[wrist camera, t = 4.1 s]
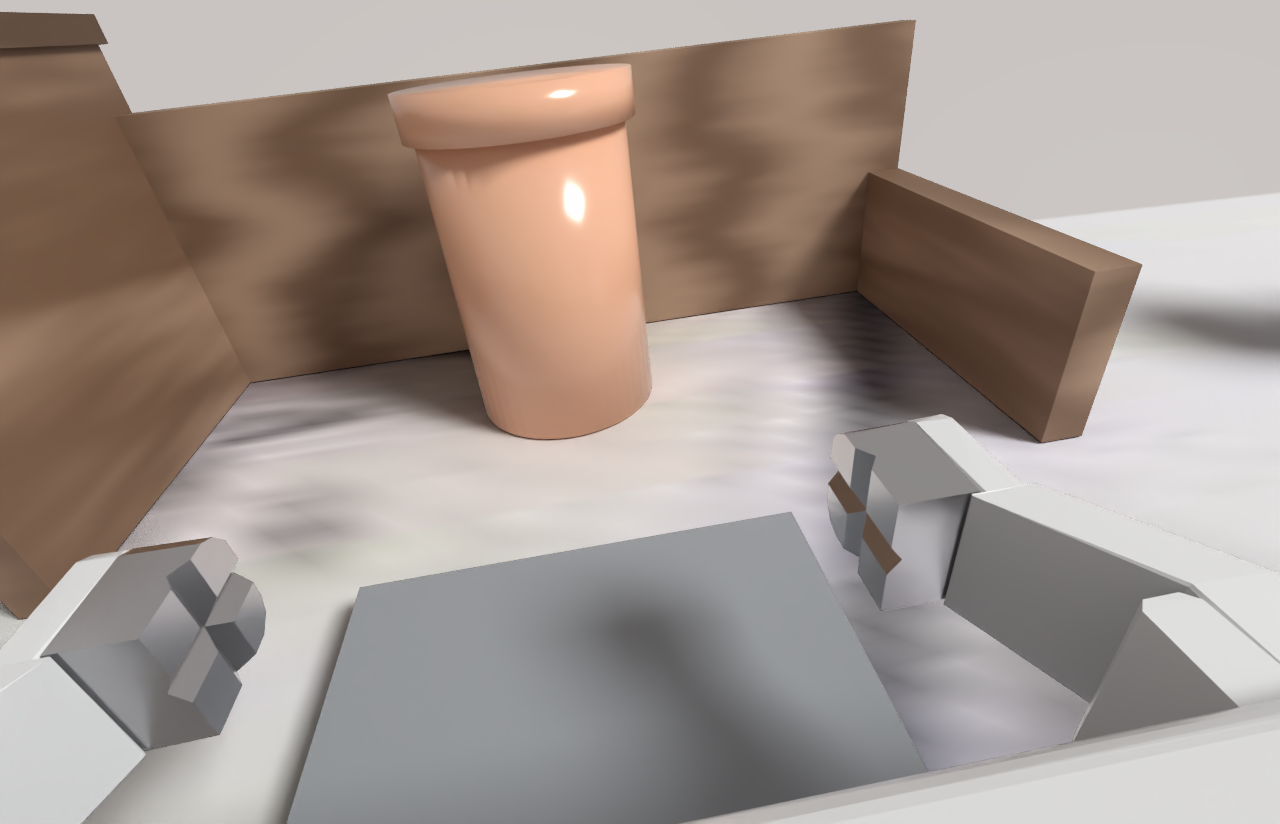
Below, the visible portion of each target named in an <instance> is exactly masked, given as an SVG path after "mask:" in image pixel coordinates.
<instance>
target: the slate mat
mask: <svg viewBox="0 0 1280 824" xmlns="http://www.w3.org/2000/svg"><path fill="white" fill-rule="evenodd" d="M926 772H928V770H927V768H926V766H925V764H924V762H923V760H922V759H921V757H920V755H919V753H918V751H917V749H916V747H915V745H914V743H913V741H912V740H911V738H910V736H909V734H908V732H907V730H906V728H905V726H904V724H903V723H902V721H901V719H900V717H899V715H898V713H897V711H896V709H895V707H894V705H893V704H892V702H891V700H890V698H889V696H888V694H887V692H886V690H885V688H884V687H883V685H882V683H881V681H880V679H879V677H878V675H877V673H876V671H875V669H874V668H873V666H872V664H871V662H870V660H869V658H868V656H867V654H866V652H865V650H864V649H863V647H862V645H861V643H860V641H859V639H858V637H857V635H856V633H855V632H854V630H853V628H852V626H851V624H850V622H849V620H848V618H847V616H846V614H845V613H844V611H843V609H842V607H841V605H840V603H839V601H838V599H837V597H836V596H835V594H834V592H833V590H832V588H831V586H830V584H829V582H828V580H827V578H826V577H825V575H824V573H823V571H822V569H821V567H820V565H819V563H818V561H817V560H816V558H815V556H814V554H813V552H812V550H811V548H810V546H809V544H808V542H807V541H806V539H805V537H804V535H803V533H802V531H801V529H800V527H799V525H798V523H797V522H796V520H795V518H794V516H793V514H792V512H787V513H781V514H776V515H770V516H764V517H759V518H753V519H747V520H741V521H736V522H730V523H724V524H719V525H713V526H707V527H702V528H696V529H690V530H684V531H679V532H673V533H667V534H662V535H656V536H650V537H645V538H639V539H633V540H628V541H622V542H616V543H610V544H605V545H599V546H593V547H588V548H582V549H576V550H571V551H565V552H559V553H553V554H548V555H542V556H536V557H531V558H525V559H519V560H514V561H508V562H502V563H497V564H491V565H485V566H479V567H474V568H468V569H462V570H457V571H451V572H445V573H440V574H434V575H428V576H422V577H417V578H411V579H405V580H400V581H394V582H388V583H383V584H377V585H371V586H366V587H360V588H359V592H358V595H357V598H356V601H355V604H354V608H353V611H352V614H351V617H350V621H349V624H348V627H347V630H346V633H345V637H344V640H343V643H342V646H341V649H340V653H339V656H338V659H337V662H336V666H335V669H334V672H333V675H332V678H331V682H330V685H329V688H328V691H327V694H326V698H325V701H324V704H323V707H322V711H321V714H320V717H319V720H318V723H317V727H316V730H315V733H314V736H313V739H312V743H311V746H310V749H309V752H308V756H307V759H306V762H305V765H304V768H303V772H302V775H301V778H300V781H299V784H298V788H297V791H296V794H295V797H294V801H293V804H292V807H291V810H290V813H289V817H288V820H287V823H286V824H680V823H684V822H689V821H694V820H699V819H704V818H709V817H713V816H718V815H723V814H728V813H733V812H738V811H742V810H747V809H752V808H757V807H762V806H767V805H771V804H776V803H781V802H786V801H791V800H796V799H800V798H805V797H810V796H815V795H820V794H825V793H829V792H834V791H839V790H844V789H849V788H854V787H858V786H863V785H868V784H873V783H878V782H883V781H887V780H892V779H897V778H902V777H907V776H912V775H916V774H921V773H926Z"/></svg>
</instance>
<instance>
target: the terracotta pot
mask: <svg viewBox="0 0 1280 824" xmlns="http://www.w3.org/2000/svg"><path fill="white" fill-rule="evenodd" d="M388 98H389V101H390V105H391V108H392V112H393V115H394V119H395V123H396V126H397V130H398V133H399V137H400V140H401V144H402V145H403V146H404V147H408V148H413V149H415V152H416V156H417V159H418V163H419V167H420V170H421V174H422V178H423V181H424V185H425V189H426V192H427V196H428V200H429V203H430V207H431V211H432V214H433V218H434V222H435V225H436V229H437V233H438V236H439V240H440V243H441V247H442V251H443V254H444V258H445V262H446V265H447V269H448V273H449V276H450V280H451V284H452V287H453V291H454V295H455V298H456V302H457V306H458V309H459V313H460V317H461V320H462V324H463V328H464V331H465V335H466V339H467V342H468V346H469V350H470V353H471V357H472V361H473V364H474V368H475V372H476V375H477V379H478V383H479V386H480V390H481V393H482V397H483V401H484V404H485V408H486V412H487V415H488V417H489V419H490V420H491V421H492V422H493V423H494V424H495V425H496V426H497V427H499V428H500V429H502V430H504V431H506V432H508V433H511V434H514V435H517V436H522V437H527V438H535V439H561V438H569V437H576V436H581V435H586V434H590V433H593V432H597V431H600V430H603V429H605V428H608V427H610V426H613V425H615V424H617V423H619V422H621V421H623V420H624V419H626V418H628V417H629V416H631V415H632V414H633V413H635V412H636V411H637V410H638V409H639V408H640V407H642V405H643V404H644V403H645V402H646V401H647V399H648V397H649V395H650V393H651V389H652V378H651V368H650V358H649V348H648V338H647V329H646V319H645V309H644V299H643V289H642V279H641V269H640V259H639V249H638V239H637V229H636V219H635V209H634V199H633V189H632V179H631V170H630V160H629V150H628V140H627V130H626V120H628V119H630V118H632V117H633V116H634V115H635V103H634V92H633V81H632V70H631V65H630V64H595V65H582V66H570V67H559V68H549V69H540V70H531V71H522V72H513V73H505V74H497V75H490V76H482V77H475V78H468V79H461V80H454V81H448V82H442V83H435V84H430V85H424V86H418V87H413V88H408V89H404V90H399V91H395V92H392V93H389V94H388Z"/></svg>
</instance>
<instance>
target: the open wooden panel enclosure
mask: <svg viewBox="0 0 1280 824" xmlns="http://www.w3.org/2000/svg"><path fill="white" fill-rule="evenodd" d="M915 22H916V21H915V20H901V21H893V22H884V23H876V24H867V25H859V26H851V27H842V28H835V29H826V30H818V31H809V32H802V33H792V34H784V35H776V36H767V37H760V38H752V39H742V40H735V41H726V42H718V43H709V44H701V45H693V46H684V47H677V48H668V49H660V50H651V51H643V52H635V53H626V54H618V55H611V56H602V57H594V58H586V59H577V60H569V61H561V62H552V63H544V64H536V65H527V66H519V67H511V68H503V69H494V70H486V71H477V72H470V73H462V74H453V75H444V76H436V77H428V78H419V79H411V80H403V81H395V82H386V83H378V84H370V85H361V86H353V87H345V88H336V89H328V90H320V91H312V92H303V93H295V94H287V95H278V96H270V97H262V98H253V99H245V100H237V101H230V102H220V103H212V104H205V105H196V106H187V107H179V108H171V109H162V110H154V111H146V112H138V113H132V112H131V110H130V108H129V106H128V104H127V102H126V100H125V98H124V96H123V94H122V92H121V90H120V88H119V86H118V84H117V82H116V80H115V78H114V76H113V74H112V72H111V70H110V68H109V66H108V64H107V62H106V60H105V58H104V56H103V53H102V51H101V49H100V47H99V46H98V45H101V44H108V42H107V40H106V38H105V36H104V34H103V32H102V30H101V28H100V26H99V24H98V22H97V20H96V18H95V16H94V14H57V13H56V14H54V13H16V12H14V13H13V12H0V601H1V602H2V603H3V604H4V605H5V606H6V607H7V608H8V609H9V610H10V611H11V612H12V613H13V614H14V615H15V616H16V617H17V618H18V619H23V618H28V617H29V616H30V615H31V614H32V613H33V611H34V610H35V609H36V608H37V607H38V606H39V605H40V603H41V602H42V601H43V600H44V599H45V598H46V596H47V595H48V594H49V593H50V592H51V591H52V589H53V588H54V587H55V586H56V585H57V584H58V583H59V581H60V580H61V579H62V578H63V577H64V576H65V574H66V573H67V572H68V571H69V570H70V569H71V568H72V566H73V565H74V564H75V563H76V562H78V561H80V560H83V559H85V558H87V557H90V556H92V555H98V554H104V553H110V552H116V551H117V550H118V548H119V547H120V546H121V545H122V543H123V542H124V541H125V540H126V538H127V537H128V536H129V535H130V533H131V532H132V531H133V530H134V528H135V527H136V526H137V525H138V523H139V522H140V521H141V519H142V518H143V517H144V516H145V514H146V513H147V512H148V511H149V509H150V508H151V507H152V506H153V504H154V503H155V502H156V501H157V499H158V498H159V497H160V496H161V494H162V493H163V492H164V491H165V489H166V488H167V487H168V486H169V484H170V483H171V482H172V481H173V479H174V478H175V477H176V475H177V474H178V473H179V472H180V470H181V469H182V468H183V467H184V465H185V464H186V463H187V462H188V460H189V459H190V458H191V457H192V455H193V454H194V453H195V452H196V450H197V449H198V448H199V447H200V445H201V444H202V443H203V442H204V440H205V439H206V438H207V437H208V435H209V434H210V433H211V432H212V430H213V429H214V428H215V426H216V425H217V424H218V423H219V421H220V420H221V419H222V418H223V416H224V415H225V414H226V413H227V411H228V410H229V409H230V408H231V406H232V405H233V404H234V403H235V401H236V400H237V399H238V398H239V396H240V395H241V394H242V393H243V391H244V390H245V389H246V388H247V386H248V385H249V384H250V383H251V382H257V381H264V380H271V379H277V378H284V377H290V376H297V375H304V374H310V373H317V372H324V371H330V370H337V369H343V368H350V367H357V366H363V365H370V364H376V363H383V362H390V361H396V360H403V359H409V358H416V357H423V356H429V355H436V354H442V353H449V352H456V351H462V350H469V346H468V342H467V339H466V335H465V331H464V328H463V324H462V320H461V317H460V313H459V309H458V306H457V302H456V298H455V295H454V291H453V287H452V284H451V280H450V276H449V273H448V269H447V265H446V262H445V258H444V254H443V251H442V247H441V243H440V240H439V236H438V233H437V229H436V225H435V222H434V218H433V214H432V211H431V207H430V203H429V200H428V196H427V192H426V189H425V185H424V181H423V178H422V174H421V170H420V167H419V163H418V159H417V156H416V152H415V149H413V148H408V147H404V146H403V145H402V144H401V140H400V137H399V133H398V130H397V126H396V123H395V119H394V115H393V112H392V108H391V105H390V101H389V98H388V94H389V93H392V92H395V91H399V90H404V89H408V88H413V87H418V86H424V85H430V84H435V83H442V82H448V81H454V80H461V79H468V78H475V77H482V76H490V75H497V74H505V73H513V72H522V71H531V70H540V69H549V68H559V67H570V66H582V65H595V64H630V65H631V70H632V81H633V92H634V103H635V115H634V116H633V117H632V118H630V119H628V120H626V130H627V140H628V150H629V160H630V170H631V179H632V189H633V199H634V209H635V219H636V229H637V239H638V249H639V259H640V269H641V279H642V289H643V299H644V309H645V319H646V323H647V322H654V321H661V320H667V319H674V318H680V317H687V316H694V315H700V314H707V313H713V312H720V311H727V310H733V309H740V308H746V307H753V306H760V305H766V304H773V303H779V302H786V301H793V300H799V299H806V298H813V297H819V296H826V295H832V294H839V293H846V292H852V291H858V292H859V293H860V294H861V295H863V296H864V297H865V298H866V299H868V300H869V301H870V302H871V303H872V304H874V305H875V306H876V307H877V308H878V309H880V310H881V311H882V312H883V313H885V314H886V315H887V316H888V317H889V318H891V319H892V320H893V321H894V322H895V323H897V324H898V325H899V326H900V327H902V328H903V329H904V330H905V331H906V332H908V333H909V334H910V335H911V336H912V337H914V338H915V339H916V340H917V341H919V342H920V343H921V344H922V345H923V346H925V347H926V348H927V349H928V350H929V351H931V352H932V353H933V354H934V355H936V356H937V357H938V358H939V359H940V360H942V361H943V362H944V363H945V364H946V365H948V366H949V367H950V368H951V369H953V370H954V371H955V372H956V373H957V374H959V375H960V376H961V377H962V378H963V379H965V380H966V381H967V382H968V383H970V384H971V385H972V386H973V387H974V388H976V389H977V390H978V391H979V392H980V393H982V394H983V395H984V396H985V397H987V398H988V399H989V400H990V401H991V402H993V403H994V404H995V405H996V406H997V407H999V408H1000V409H1001V410H1002V411H1004V412H1005V413H1006V414H1007V415H1008V416H1010V417H1011V418H1012V419H1013V420H1014V421H1016V422H1017V423H1018V424H1019V425H1021V426H1022V427H1023V428H1024V429H1025V430H1027V431H1028V432H1029V433H1030V434H1031V435H1033V436H1034V437H1035V438H1036V439H1037V440H1039V441H1040V442H1041V443H1043V442H1049V441H1054V440H1060V439H1066V438H1072V437H1078V436H1082V433H1083V430H1084V427H1085V425H1086V422H1087V419H1088V416H1089V413H1090V410H1091V408H1092V405H1093V402H1094V399H1095V396H1096V394H1097V391H1098V388H1099V385H1100V382H1101V380H1102V377H1103V374H1104V371H1105V368H1106V366H1107V363H1108V360H1109V357H1110V354H1111V351H1112V349H1113V346H1114V343H1115V340H1116V337H1117V335H1118V332H1119V329H1120V326H1121V323H1122V321H1123V318H1124V315H1125V312H1126V309H1127V307H1128V304H1129V301H1130V298H1131V295H1132V292H1133V290H1134V287H1135V284H1136V281H1137V278H1138V276H1139V273H1140V270H1141V267H1142V264H1140V263H1137V262H1135V261H1132V260H1130V259H1127V258H1125V257H1122V256H1120V255H1117V254H1114V253H1112V252H1109V251H1107V250H1104V249H1102V248H1099V247H1097V246H1094V245H1092V244H1089V243H1087V242H1084V241H1081V240H1079V239H1076V238H1074V237H1071V236H1069V235H1066V234H1064V233H1061V232H1059V231H1056V230H1053V229H1051V228H1048V227H1046V226H1043V225H1041V224H1038V223H1036V222H1033V221H1031V220H1028V219H1026V218H1023V217H1020V216H1018V215H1015V214H1013V213H1010V212H1008V211H1005V210H1003V209H1000V208H998V207H995V206H992V205H990V204H987V203H985V202H982V201H980V200H977V199H974V198H972V197H970V196H967V195H964V194H962V193H959V192H957V191H954V190H952V189H949V188H947V187H944V186H942V185H939V184H936V183H934V182H932V181H929V180H926V179H924V178H921V177H919V176H916V175H913V174H911V173H908V172H906V171H903V170H901V169H898V161H899V152H900V144H901V136H902V128H903V119H904V112H905V102H906V95H907V87H908V79H909V71H910V63H911V54H912V47H913V38H914V30H915Z"/></svg>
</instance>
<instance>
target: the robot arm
mask: <svg viewBox="0 0 1280 824" xmlns="http://www.w3.org/2000/svg"><path fill="white" fill-rule="evenodd" d="M830 459H831V460H832V462H833V463H834V465H835V466H836V468H837V469H838V472H837V473H836V475H835V476H834V477H833V478H832V479H831V481H830V482H829V483H828V496H827V504H828V510H829V515H830V521H831V524H832V526H833V529H834V532H835V534H836V536H837V538H838V540H839V541H840V543H841V545H842V547H843V548H844V549H846V550H847V551H849V552H851V553H853V554H855V555H856V556H858V557H860V558H859V566H858V574H859V576H860V577H861V579H862V581H863V582H864V584H865V586H866V587H867V589H868V591H869V592H870V594H871V596H872V597H873V599H874V601H875V602H876V604H877V606H878V607H879V609H880V611H884V610H890V609H897V608H903V607H909V606H915V605H922V604H928V603H934V602H941V601H944V605H946V606H947V607H949V608H950V609H952V610H953V611H955V612H956V613H958V614H959V615H961V616H962V617H963V618H965V619H966V620H968V621H969V622H971V623H972V624H974V625H975V626H977V627H978V628H980V629H981V630H983V631H984V632H986V633H987V634H989V635H990V636H992V637H993V638H994V639H996V640H997V641H999V642H1000V643H1002V644H1003V645H1005V646H1006V647H1008V648H1009V649H1011V650H1012V651H1014V652H1015V653H1017V654H1018V655H1020V656H1021V657H1023V658H1024V659H1025V660H1027V661H1028V662H1030V663H1031V664H1033V665H1034V666H1036V667H1037V668H1039V669H1040V670H1042V671H1043V672H1045V673H1046V674H1048V675H1049V676H1051V677H1052V678H1054V679H1055V680H1056V681H1058V682H1059V683H1061V684H1062V685H1064V686H1065V687H1067V688H1068V689H1070V690H1071V691H1073V692H1074V693H1076V694H1077V695H1079V696H1080V697H1082V698H1083V699H1085V700H1086V701H1087V702H1089V703H1090V704H1089V706H1088V708H1087V710H1086V712H1085V714H1084V716H1083V718H1082V720H1081V722H1080V724H1079V726H1078V728H1077V730H1076V731H1075V734H1074V738H1073V742H1070V743H1065V744H1061V745H1056V746H1051V747H1046V748H1041V749H1037V750H1032V751H1027V752H1022V753H1017V754H1013V755H1008V756H1003V757H998V758H993V759H988V760H984V761H979V762H974V763H969V764H964V765H960V766H955V767H950V768H945V769H940V770H936V771H931V772H926V773H921V774H916V775H912V776H907V777H902V778H897V779H892V780H887V781H883V782H878V783H873V784H868V785H863V786H858V787H854V788H849V789H844V790H839V791H834V792H829V793H825V794H820V795H815V796H810V797H805V798H800V799H796V800H791V801H786V802H781V803H776V804H771V805H767V806H762V807H757V808H752V809H747V810H742V811H738V812H733V813H728V814H723V815H718V816H713V817H709V818H704V819H699V820H694V821H689V822H684V823H680V824H1280V575H1279V574H1277V573H1276V572H1275V571H1272V570H1269V569H1267V568H1264V567H1261V566H1259V565H1256V564H1253V563H1251V562H1248V561H1245V560H1242V559H1240V558H1237V557H1234V556H1232V555H1229V554H1226V553H1224V552H1221V551H1218V550H1215V549H1213V548H1210V547H1207V546H1205V545H1202V544H1199V543H1197V542H1194V541H1191V540H1188V539H1186V538H1183V537H1180V536H1178V535H1175V534H1172V533H1169V532H1167V531H1164V530H1161V529H1159V528H1156V527H1153V526H1151V525H1148V524H1145V523H1142V522H1140V521H1137V520H1134V519H1132V518H1129V517H1126V516H1124V515H1121V514H1118V513H1115V512H1113V511H1110V510H1107V509H1105V508H1102V507H1099V506H1097V505H1094V504H1091V503H1088V502H1086V501H1083V500H1080V499H1078V498H1075V497H1072V496H1070V495H1067V494H1064V493H1061V492H1059V491H1056V490H1053V489H1051V488H1048V487H1045V486H1042V485H1040V484H1037V483H1033V484H1027V485H1024V484H1023V483H1022V482H1021V481H1019V480H1018V479H1017V478H1016V477H1015V476H1014V475H1013V474H1012V473H1011V472H1010V471H1009V470H1008V469H1007V468H1006V467H1004V466H1003V465H1002V464H1001V463H1000V462H999V461H998V460H997V459H996V458H995V457H994V456H993V455H992V454H991V453H989V452H988V451H987V450H986V449H985V448H984V447H983V446H982V445H981V444H980V443H979V442H978V441H977V440H975V439H974V438H973V437H972V436H971V435H970V434H969V433H968V432H967V431H966V430H965V429H964V428H963V427H962V426H960V425H959V424H958V423H957V422H956V421H955V420H954V419H953V418H952V417H949V416H946V415H943V414H939V415H934V416H929V417H924V418H919V419H914V420H908V421H906V422H904V423H898V424H892V425H886V426H880V427H875V428H869V429H863V430H857V431H851V432H845V433H839V434H836V435H835V438H834V440H833V442H832V448H831V457H830ZM237 561H238V557H237V556H236V554H235V553H234V552H233V550H232V549H231V547H230V546H229V545H228V543H227V542H226V540H222V539H218V538H213V537H210V538H203V539H196V540H190V541H183V542H176V543H169V544H162V545H155V546H148V547H141V548H134V549H132V550H123V551H117V552H110V553H104V554H98V555H92V556H90V557H87V558H85V559H83V560H80V561H78V562H76V563H75V564H74V565H73V566H72V568H71V569H70V570H69V571H68V572H67V573H66V574H65V576H64V577H63V578H62V579H61V580H60V581H59V583H58V584H57V585H56V586H55V587H54V588H53V589H52V591H51V592H50V593H49V594H48V595H47V596H46V598H45V599H44V600H43V601H42V602H41V603H40V605H39V606H38V607H37V608H36V609H35V610H34V611H33V613H32V614H31V615H30V616H29V617H28V618H27V620H26V621H25V622H24V623H23V624H22V625H21V626H20V628H19V629H18V630H17V631H16V632H15V633H14V635H13V636H12V637H11V638H10V639H9V640H8V641H7V643H6V644H5V645H4V646H3V647H2V648H1V650H0V824H81V823H82V822H83V821H84V820H85V819H86V818H87V817H88V816H89V815H90V814H91V813H92V812H93V810H94V809H95V808H96V807H97V806H98V805H99V804H100V803H101V802H102V801H103V800H104V799H105V798H106V797H107V796H108V795H109V794H110V793H111V791H112V790H113V789H114V788H115V787H116V786H117V785H118V784H119V783H120V782H121V781H122V780H123V779H124V778H125V777H126V776H127V775H128V774H129V772H130V771H131V770H132V769H133V768H134V767H135V766H136V765H137V764H138V763H139V762H140V761H141V760H142V759H143V758H144V757H145V756H146V753H145V752H144V751H148V750H152V749H157V748H162V747H166V746H171V745H176V744H180V743H185V742H189V741H194V740H199V739H203V738H208V737H213V736H217V735H220V733H221V731H222V729H223V727H224V724H225V722H226V720H227V718H228V716H229V713H230V711H231V709H232V707H233V704H234V702H235V700H236V698H237V695H238V693H239V691H240V689H241V687H242V683H241V681H240V678H239V676H238V674H237V671H238V670H239V669H240V668H241V667H242V666H243V665H244V664H245V663H247V662H248V661H249V660H250V659H251V658H252V657H253V656H254V655H255V654H256V653H257V650H258V648H259V645H260V643H261V641H262V638H263V636H264V630H265V617H266V610H265V607H264V603H263V599H262V596H261V594H260V592H259V591H258V589H257V587H256V586H255V584H254V582H252V581H250V580H248V579H246V578H244V577H242V576H240V575H238V574H236V573H234V570H235V567H236V564H237Z"/></svg>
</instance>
